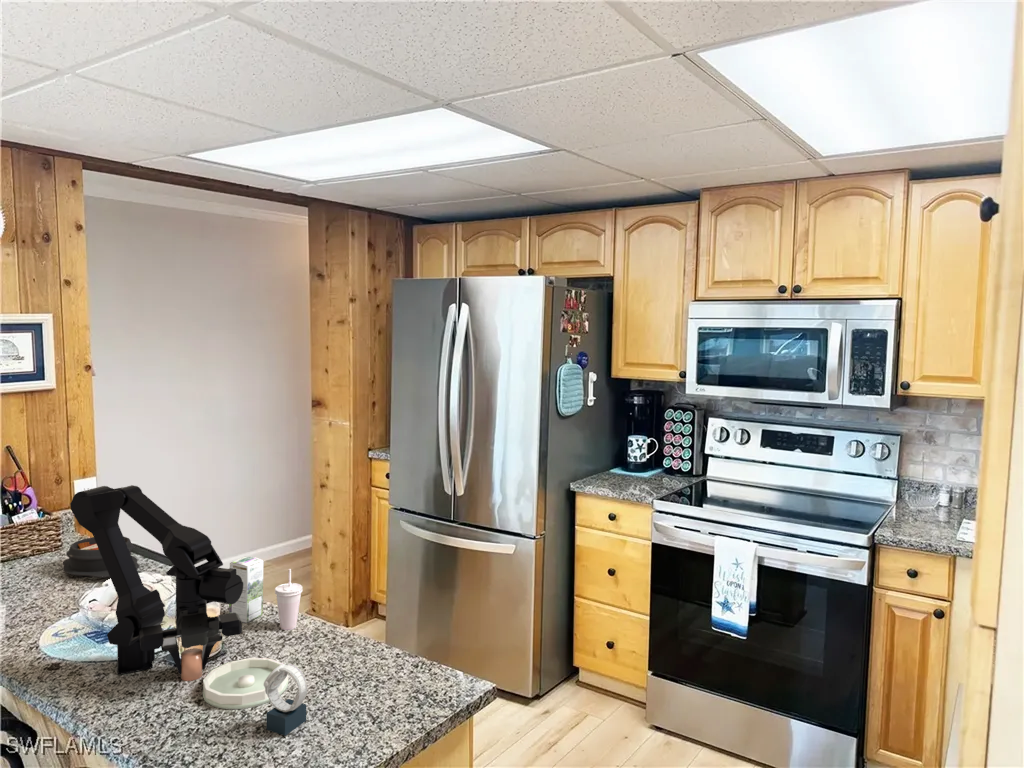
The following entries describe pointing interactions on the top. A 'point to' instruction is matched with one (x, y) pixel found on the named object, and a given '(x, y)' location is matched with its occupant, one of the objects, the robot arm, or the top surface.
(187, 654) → the bead
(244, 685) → the groove tray
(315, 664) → the top surface
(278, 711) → the watch
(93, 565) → the casserole
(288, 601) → the smoothie
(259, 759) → the top surface
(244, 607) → the syrup box
